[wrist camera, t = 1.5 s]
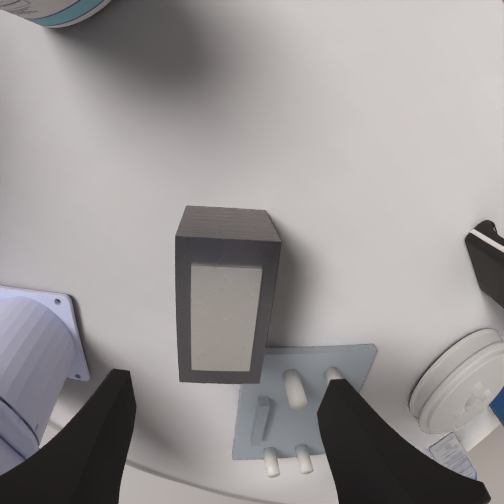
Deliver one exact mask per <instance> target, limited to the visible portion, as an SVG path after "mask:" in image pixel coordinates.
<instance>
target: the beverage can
mask: <svg viewBox="0 0 504 504" xmlns="http://www.w3.org/2000/svg"><path fill="white" fill-rule="evenodd" d="M110 1H111V0H0V9H2V10H4V11H7V12H9V13H12V14H15V15H17V16H19V17H22V18H24V19H27V20H29V21H32V22H34V23H36V24H39V25H41V26H44V27H48V28H60V27H66V26H70V25H73V24H76V23H78V22H81V21H83V20H85V19H87V18H88V17H90V16H92V15H93V14H95V13H97V12H98V11H99V10H101V9H102V8H103V7H104V6H106V5H107V4H108V3H109V2H110Z"/></svg>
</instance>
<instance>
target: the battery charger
mask: <svg viewBox="0 0 504 504" xmlns="http://www.w3.org/2000/svg"><path fill="white" fill-rule="evenodd" d="M466 243H467V246H468V249H469V252H470V255H471V259H472V262H473V265H474V268H475V271H476V275H477V278H478V281H479V284H480V288H481V290H482V291H484V292H485V293H486V294H487V295H489V296H490V297H491V298H492V299H493V300H495V301H496V302H497V303H498V304H499V305H500V306H502V307H503V308H504V238H502V237H500V236H499V235H498V234H497V230H496V227H495V224H494V223H493V222H492V221H490V220H485V221H482V222H481V223H480V224H478V225H477V226H476V227H475V228H474V229H472V230H471V231H470V232H469V234H468V235H467V236H466Z"/></svg>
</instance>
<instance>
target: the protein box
mask: <svg viewBox="0 0 504 504" xmlns="http://www.w3.org/2000/svg"><path fill="white" fill-rule="evenodd" d="M489 405H490V407H491V408H492V410H493V412H494V413H495V415H496V416H497V418H498V419H499V421H500V422H501V424H502V425H503V426H504V386H503V388H502V389H501V391H500V392H499V393H498V395H497V396H496V397H495V398H494V399H493V400H492V402H491V403H490V404H489Z"/></svg>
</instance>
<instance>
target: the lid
mask: <svg viewBox="0 0 504 504" xmlns="http://www.w3.org/2000/svg"><path fill="white" fill-rule="evenodd" d="M503 386H504V342H503V341H502V338H501V336H500V334H499V333H498V332H497V331H496V330H494V329H483V330H479V331H477V332H474V333H472V334H470V335H468V336H467V337H465V338H463V339H462V340H460V341H459V342H458V343H456V344H455V345H453V346H452V347H451V348H450V349H449V350H447V351H446V352H445V353H444V354H443V355H442V356H441V357H440V358H439V359H438V360H437V361H436V362H435V363H434V364H433V365H432V366H431V367H430V368H429V369H428V371H427V372H426V373H425V374H424V376H423V377H422V378H421V380H420V381H419V383H418V384H417V386H416V388H415V389H414V391H413V394H412V396H411V399H410V411H411V413H412V414H413V415H414V416H415V417H417V418H418V420H419V422H418V423H419V427H420V429H421V430H422V431H423V432H425V433H429V434H431V433H437V434H440V433H446V432H449V431H452V430H454V429H456V428H458V427H460V426H462V425H464V424H465V423H467V422H468V421H470V420H471V419H473V418H474V417H475V416H477V415H478V414H479V413H480V412H481V411H482V410H484V409H485V408H486V407H487V406H488V405H489V404H490V403H491V402H492V400H493V399H494V398H495V397H496V396H497V395H498V393H499V392H500V391H501V389H502V388H503Z"/></svg>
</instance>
